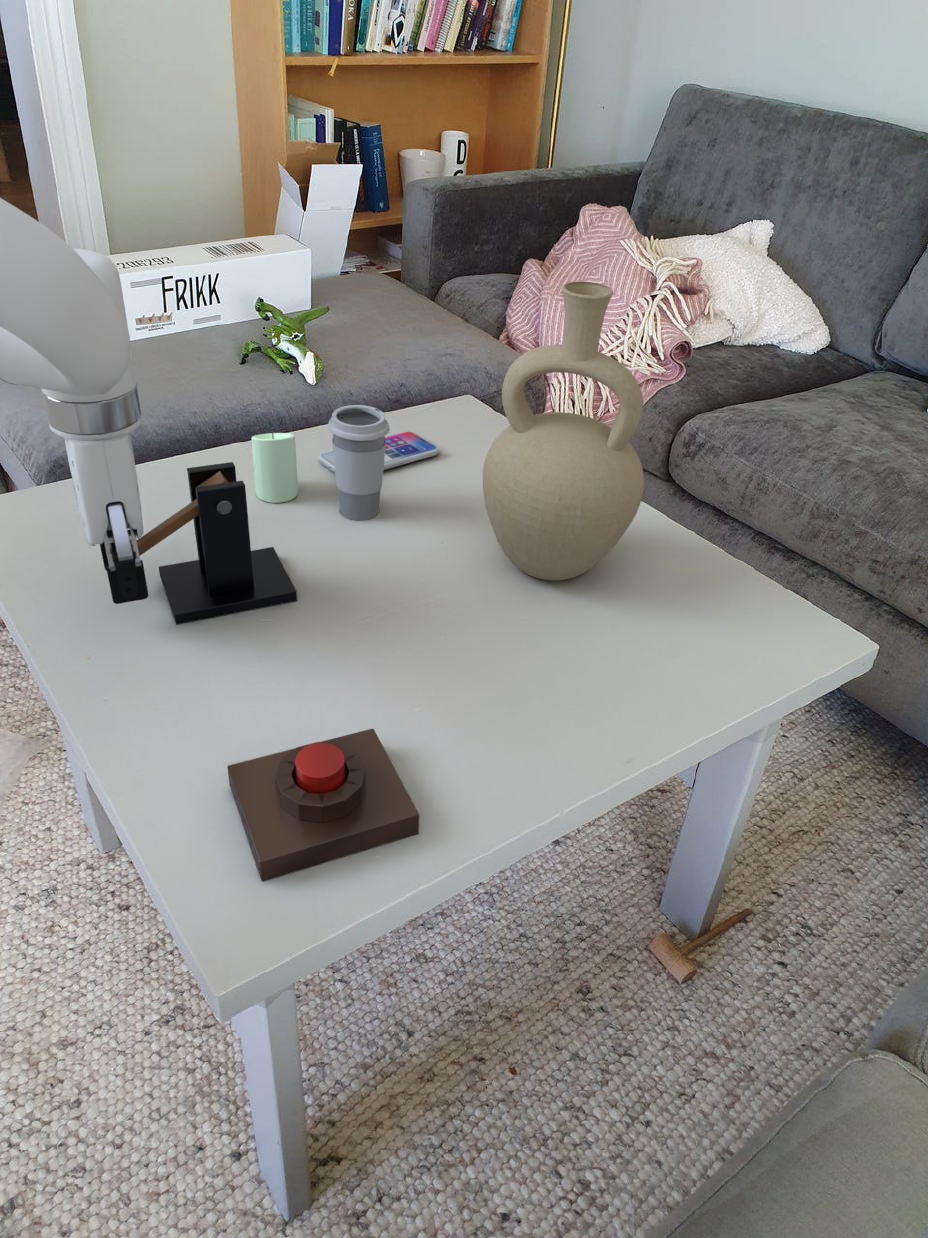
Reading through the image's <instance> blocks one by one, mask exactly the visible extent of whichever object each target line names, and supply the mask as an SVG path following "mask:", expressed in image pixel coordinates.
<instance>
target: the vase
mask: <svg viewBox="0 0 928 1238" xmlns="http://www.w3.org/2000/svg"><path fill="white" fill-rule="evenodd" d="M561 293H562V298H563V311H564V313H563V315H564V316H563V317H564V318H563V334H562V342H561V343H562V344H549V345H541V346H538V347H535V348H532V349H529V350H527V351H526V352H525V353H523V354H522V355H520V356H519V357H517V358H516V359H515V360H514V361H513V363H511V365H510V366H509V367H508V369H507V372H506V374H505V376H504V378H503V382H502V386H501V387H502V388H501V390H502V391H501V401H502V407H503V411H504V415H505V417H506V419H507V422H508V424H509V426H507V427H506V428H505V429H504V430H502V431H501V432H500V433H499V434H498V435H497V437H495V439H494V440H493V442H492V443H491V445H490V446H489V449H488V450H487V453H486V456H485V459H484V462H483V467H482V492H483V500H484V505H485V509H486V513H487V516H488V520H489V523H490V526H491V529H492V531H493V533H494V536H495V538H496V541H497V543H498V545H499V546H500V548H501V550H502V552H503V553H504V555H505V556H506V557H507V559H508V560H509V561H510V563H511V564H512V565H513V566H514V567H515V568H517V569H518V570H520V571H521V572H522V573H524V574H526V575H528V576H531V577H534V578H536V579H540V580H546V581H551V582H552V581H565V580H569V579H574V578H576V577H578V576H581V575H582V574H584V573H586V572H588V571H590V569H592V568H593V567H594V566H595V565H597V564H598V563H599V562H601V560H602V559H603V558H605V556H606V555H608V553H609V552H610V551H611V550H612V549H613V548H614V547H615V546H616V544H617V543H618V542H619V541H620V540H621V539H622V537H623V535H624V534H625V533H626V531H627V530H628V528H629V527H630V526H631V524H632V523H633V520H634V519H635V517H636V515H637V513H638V512H639V511H638V510H639V508H640V506H641V502H642V498H643V496H644V491H645V475H644V469H643V465H642V463H641V460H640V456H639V455H638V453H637V451H636V450H635V448H634V447H633V446H632V445H631V443H630V442H629V441H630V440H631V439H632V437H633V436H634V435H635V432H636V430H637V428H638V426H639V424H640V421H641V419H642V416H643V413H644V412H643V411H644V395H643V391H642V388H641V387H640V384H639V382H638V379H637V378H636V377H635V376H634V374H633V373H632V372H631V371H630V370H629V369H628V367H626V366H625V365H624V364H623V363H621V362H620V361H618V360H617V359H615V358H613V357H611V356H609V355H607V354H606V353H604V352H600V351H599V347H600V346H599V345H600V339H601V333H602V328H603V324H604V319H605V315H606V312H607V310H608V306H609V304H610V300H611V298H612V296H613V295H614V290H613V289H612V288H611V287H609V286H608V285H606V284H602V283H598V282H593V281H592V282H591V281H581V280H579V281H570V282H569V281H568V282H567V283H564V284H563V285H562V286H561ZM551 373H565V374H571V375H578V376H583V377H586V378H589V379H591V380H594V381H596V382H597V383H601V385H603V386H605V387H607V388H608V389H609V390H610V391H612V393H613V394H614V395H615V397H616V399H617V400H618V404H619V406H618V410H617V413H616V415H615V417H614V420H613V422H612V425H611V426H610V425H608V424H607V423H605V422H602V421H600V420H597V419H595V418H594V417H590V416H586V415H583V414H578V413H574V412H561V411H553V412H549V411H547V412H544V413H538V414H534V412H533V411H532V409H531V407H530V406H529V403H528V401H527V396H526V393H525V387H526V383H527V382H528V381H530V380H531V379H533V378H534V377H537V376H539V375H544V374H545V375H546V374H551Z"/></svg>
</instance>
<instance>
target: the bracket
mask: <svg viewBox="0 0 928 1238" xmlns="http://www.w3.org/2000/svg"><path fill="white" fill-rule="evenodd" d="M236 470H237V469H236V465H235V464H234V462H233V461H229V462H223V463H215V464H207V465H200V466H192V467H186V472H187V480H188V488H189V489H188V490H189V496H190V497H189V498H190V503H191V502H193V501H194V500H196V499H197V505H198V513H199V515H198V516H197V517H195V518H194V519H192V520H193V528H194V535H195V542H196V550H197V556H198V558H197V559H195V560H190V561H189V560H188V561H183V562H177V563H172V564H165V565H160V566H158V572H159V578H160V581H161V584H162V586H163V590H164V593H165V596H166V599H167V601H168V605H169V608H170V611H171V614H172V617H173V620H174V623H175V625H181V624H187V623H191V622H196V621H203V620H207V619H212V618H213V619H214V618H217V617H221V616H227V615H234V614H238V613H242V612H248V611H253V610H258V609H263V608H269V607H274V606H278V605H284V604H288V603H294V602H298V592H297V591H298V590H297V589H296V587H295V585H294V584H293V582H292V580H291V578H290V576H289V574H288V573H287V570H286V568H285V566H284V564H283V562H282V560H281V559H280V557H279V556H278V555H279V554H278V553H277V552H276V549H275V547H274V546H271V547H264V548H259V549H254V550H252V549H251V548H252V547H251V535H250V526H249V525H250V524H249V514H248V512H249V511H248V501H247V491H246V489H247V488H246V484H245V482H244V480H237V472H236ZM219 471H220V472H221V473H222V474H223V476H224V477H225V478H226V479H227V480H228V483H221V484H214V485H207V486H200V487H197V486H199V485H200V484H202V483H203V482H205V481H206V480H207V479H209V478H210V477H212V476H213V475H215V474H216V473H218V472H219Z"/></svg>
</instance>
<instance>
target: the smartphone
mask: <svg viewBox="0 0 928 1238" xmlns="http://www.w3.org/2000/svg"><path fill="white" fill-rule="evenodd" d="M385 442H386V444H385V456H384V468H383V471H385V470H389V469H393V468H396V467H400V466H403V465H407V464H410V463H414V462H418V461H420V460H424V459H428V458H431V457H435V456H437V455H438V454H439V453H440V448H439V447H438V446H437V445H435V444H433V443H432V442H430V441H428V440H427V439H425V438H424V437H422V436H420V435H419V434H417V433H415V432H414V431H404V432H400V433H396V434H391V435H388V436H385ZM318 462H319V463H320V464H322V465H323V466H324V467H326V468H327V469H328V470H330V471H331V472H333V473H334V474H335V466H334V455H333V450H330V451H328V452H323V453H321V454H320V455H318Z"/></svg>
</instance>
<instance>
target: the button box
mask: <svg viewBox="0 0 928 1238" xmlns="http://www.w3.org/2000/svg"><path fill="white" fill-rule="evenodd" d="M315 743H328V744H332V745H334V746H336V747H338V748H339V749H340V750H341V751H342V753H343V754H344V758H345V778H344V781H343V783H342V784H341V785H340V786H339V787H338V788H337V789H336V790H334V791H331V792H327V793H324V794H316V793H309V792H307V791H305V790H303V789H302V788H301V787H300V786H299V785H298V783H297V779H296V766H295V759H296V756H297V754H298V753H299V752H300V751H301V750H302V749H303V748H305V747H306V746H309V745H311V744H315ZM226 769H227V776H228V784H229V788H230V791H231V794H232V798H233V801H234V803H235V806H236V809H237V811H238V816H239V818H240V820H241V824H242V828H243V830H244V833H245V836H246V839H247V842H248V845H249V848H250V851H251V854H252V857H253V860H254V864H255V866H256V870H257V872H258V876H259V878H260V881H261V882H266V881H270V880H273V879H276V878H279V877H282V876H285V875H288V874H293V873H295V872H298V871H299V872H300V871H302V870H306V869H308V868H312V867H315V866H318V865H321V864H324V863H329V862H331V861H335V860H337V859H341V858H345V857H347V856H350V855H353V854H357V853H360V852H363V851H366V850H370V849H373V848H377V847H379V846H383V845H386V844H390V843H393V842H396V841H400V840H402V839H406V838H409V837H413V836H415V835H418V834H419V828H420V826H419V825H420V813H419V811H418V809H417V807H416V805H415V804H414V802H413V800H412V798H411V797H410V794H409V792H408V790H407V789H406V787H405V785H404V783H403V781H402V779H401V778H400V776H399V774H398V771H397V770H396V768H395V766H394V764H393V762H392V761H391V759H390V757H389V755H388V753H387V751H386V749H385V748H384V745H383V743H382V742H381V740H380V738H379V736H378V734H377V732H376V730H375V729H374V728H368V729H366V730H361V731H358V732H354V733H349V734H346V735H341V736H338V737H334V738H329V739H327V740H321V741H316V742H313V743H308V744H304V745H300V746H297V747H295V748H291V749H287V750H284V751H279V752H277V753H271V754H267V755H263V756H260V757H256V758H252V759H247V760H245V761H241V762H240V761H239V762H237V763H233V764H229V765H227V766H226Z"/></svg>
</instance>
